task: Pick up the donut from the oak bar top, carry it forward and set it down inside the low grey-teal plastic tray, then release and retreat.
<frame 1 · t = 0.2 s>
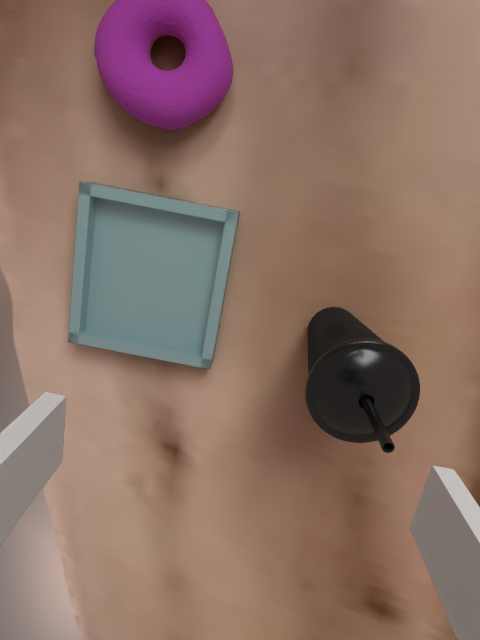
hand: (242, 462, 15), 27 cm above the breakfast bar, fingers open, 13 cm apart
drinking cup: (332, 330, 42), on the breakfast bar
tray: (154, 276, 42), on the breakfast bar
donut: (170, 68, 37), on the breakfast bar
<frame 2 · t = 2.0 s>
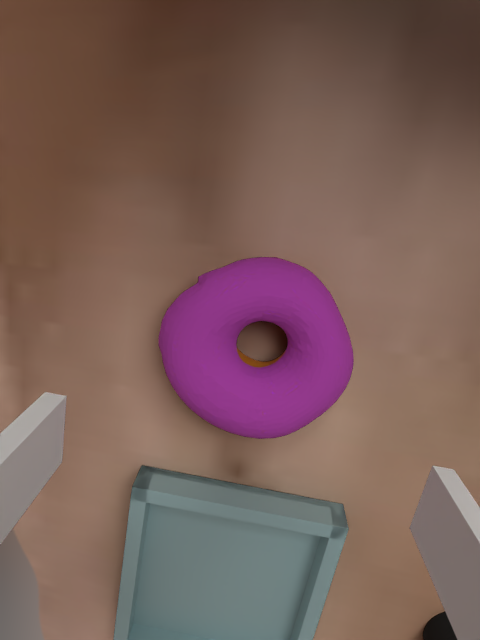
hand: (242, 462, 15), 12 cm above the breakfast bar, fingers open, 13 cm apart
drinking cup: (454, 631, 33), on the breakfast bar
tray: (224, 567, 32), on the breakfast bar
donut: (257, 336, 27), on the breakfast bar
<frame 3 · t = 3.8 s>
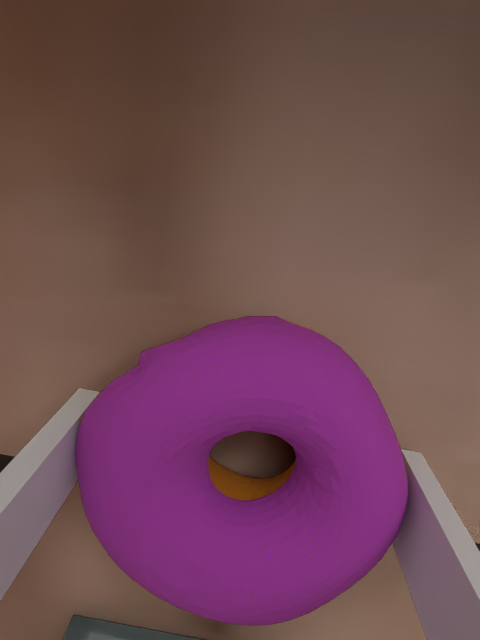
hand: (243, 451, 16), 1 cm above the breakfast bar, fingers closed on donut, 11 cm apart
donut: (245, 433, 17), on the breakfast bar, touching gripper
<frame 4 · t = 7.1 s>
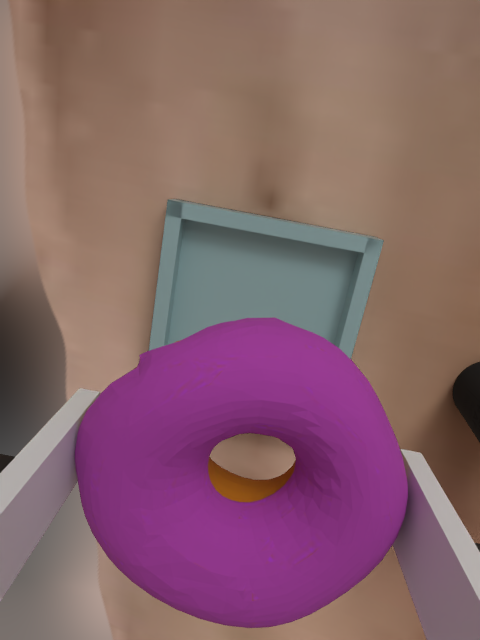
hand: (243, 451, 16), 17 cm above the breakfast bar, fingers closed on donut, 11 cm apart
tray: (254, 320, 32), on the breakfast bar
donut: (245, 434, 17), point 16 cm above the breakfast bar, touching gripper
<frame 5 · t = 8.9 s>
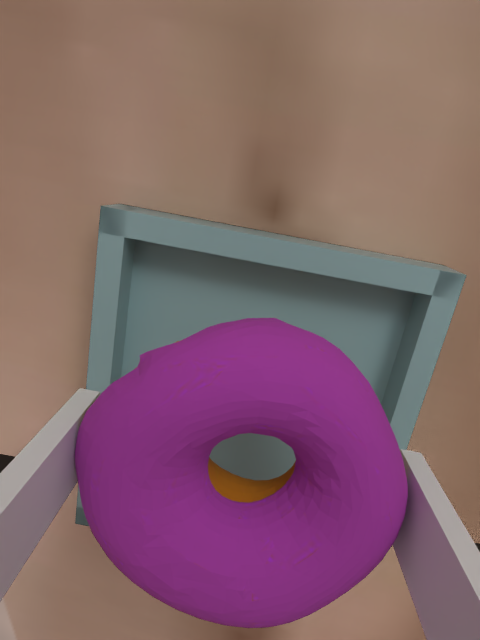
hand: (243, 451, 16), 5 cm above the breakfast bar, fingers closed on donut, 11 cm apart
tray: (249, 391, 21), on the breakfast bar
donut: (245, 435, 17), point 4 cm above the breakfast bar, touching gripper
when the fingers open (3 cm above the breakfast bar, at t = 10.4 s): donut drops 2 cm, resting on tray.
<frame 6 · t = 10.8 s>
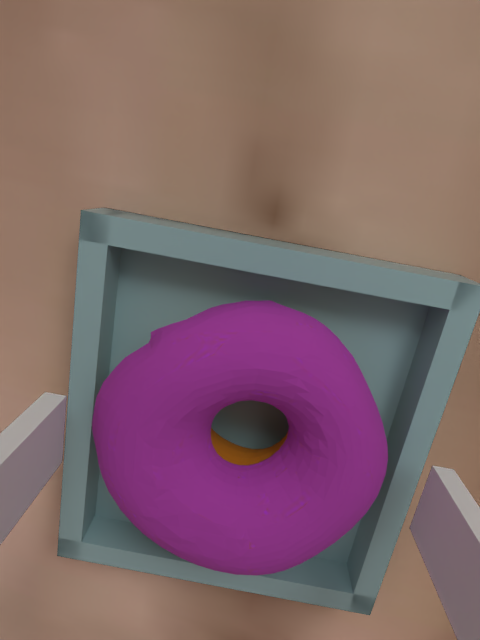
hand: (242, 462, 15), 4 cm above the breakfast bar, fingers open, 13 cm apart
tray: (246, 411, 19), on the breakfast bar
donut: (244, 408, 18), resting on tray
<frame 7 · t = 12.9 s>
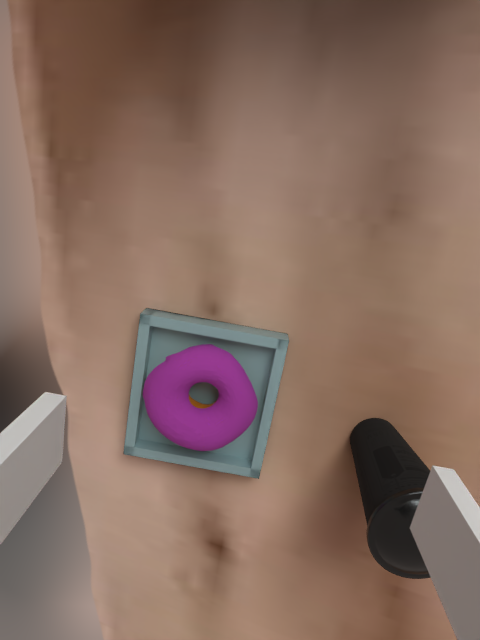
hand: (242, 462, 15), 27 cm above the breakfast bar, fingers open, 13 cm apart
drinking cup: (372, 438, 45), on the breakfast bar
tray: (205, 390, 44), on the breakfast bar
donut: (203, 388, 44), resting on tray
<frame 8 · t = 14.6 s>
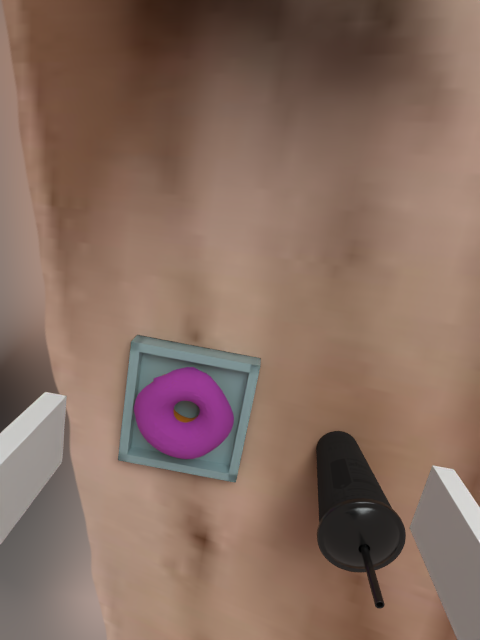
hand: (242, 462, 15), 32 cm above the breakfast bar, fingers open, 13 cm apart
drinking cup: (336, 448, 51), on the breakfast bar
tray: (189, 405, 50), on the breakfast bar
donut: (187, 403, 50), resting on tray
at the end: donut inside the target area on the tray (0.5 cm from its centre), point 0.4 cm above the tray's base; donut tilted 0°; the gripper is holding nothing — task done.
